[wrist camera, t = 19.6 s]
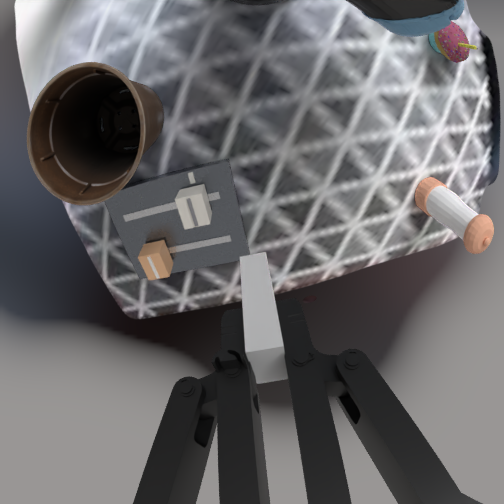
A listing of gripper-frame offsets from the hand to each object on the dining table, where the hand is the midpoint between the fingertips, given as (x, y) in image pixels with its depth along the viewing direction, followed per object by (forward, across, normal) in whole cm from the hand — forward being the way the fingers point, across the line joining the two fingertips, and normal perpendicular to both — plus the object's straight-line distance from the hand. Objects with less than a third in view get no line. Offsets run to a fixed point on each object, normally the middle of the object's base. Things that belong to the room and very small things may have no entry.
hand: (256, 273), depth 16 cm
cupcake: (+30, +40, +20) cm, 54 cm away
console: (+29, -13, -9) cm, 33 cm away
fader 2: (+27, -8, -5) cm, 29 cm away
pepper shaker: (+30, +36, -12) cm, 48 cm away
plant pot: (+30, -16, +11) cm, 35 cm away
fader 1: (+27, -18, -13) cm, 35 cm away
